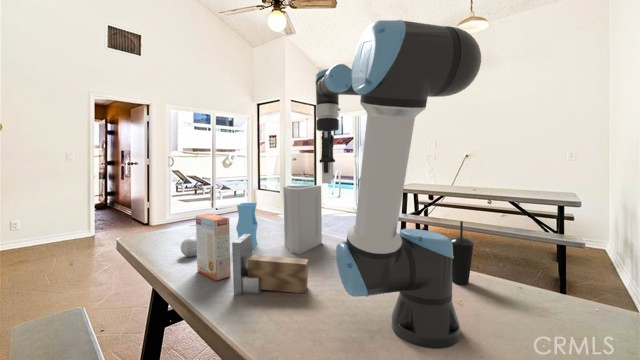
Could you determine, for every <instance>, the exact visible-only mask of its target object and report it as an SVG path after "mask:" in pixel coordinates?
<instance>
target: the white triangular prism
mask: <svg viewBox="0 0 640 360" xmlns="http://www.w3.org/2000/svg"><path fill="white" fill-rule="evenodd" d="M282 189H283V228H284V229H283V232H284V235H283V236H284V239H283V240H284V246H285V247H286V248H287V249H288V251H289V252H291V253H293V254H299V255H301V254H303V253H305V252H307V251H309V250H311V249H313V248H315V247H318V246H319V245H321V244H323V241H322V240H323V234H322V232H323V229H322V224H323V223H322V219H323V217H322V185H321V184H319V185H318V184H316V185H315V184H309V185H303V184H302V185H301V184H300V185H283V188H282Z"/></svg>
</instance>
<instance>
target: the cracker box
mask: <svg viewBox="0 0 640 360" xmlns="http://www.w3.org/2000/svg"><path fill="white" fill-rule="evenodd" d="M195 230H196V232H195V233H196V234H195V236H196V237H195V238H196V239H197V255H196V262H197V272H198V273H200V274H203V275H204V276H206V277H208V278H210V279H211V280H214V281H215V282H217V281H221V280H223V279H227V278H230V277H231V276H232V275H231V274H232V273H231V244H230V243H231V240H230V239H231V238H230V234H231V233H230V218H229V217H226V216H221V215H218V214H213V213H204V214H197V215H195Z"/></svg>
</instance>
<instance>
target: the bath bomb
mask: <svg viewBox="0 0 640 360" xmlns="http://www.w3.org/2000/svg"><path fill="white" fill-rule="evenodd" d="M180 252H181V253H182V255H184V257H190V258H191V257H194V256H197V237H187V238H185V239H184V240H183V241H182V242H181V245H180Z"/></svg>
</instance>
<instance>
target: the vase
mask: <svg viewBox="0 0 640 360" xmlns="http://www.w3.org/2000/svg"><path fill="white" fill-rule="evenodd" d="M256 207H257V202H240V203H238V204H236V208H237V213H238V221H237V223H236V224H237V225H236V234H237V236H238V237H237V239H238V238H239V237H241V236H242V235H244V234H251V236H252V249H255V248H256V247H257V245H258V240H257V230H258V225H259V224H258V221H257V219H256V209H257V208H256Z"/></svg>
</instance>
